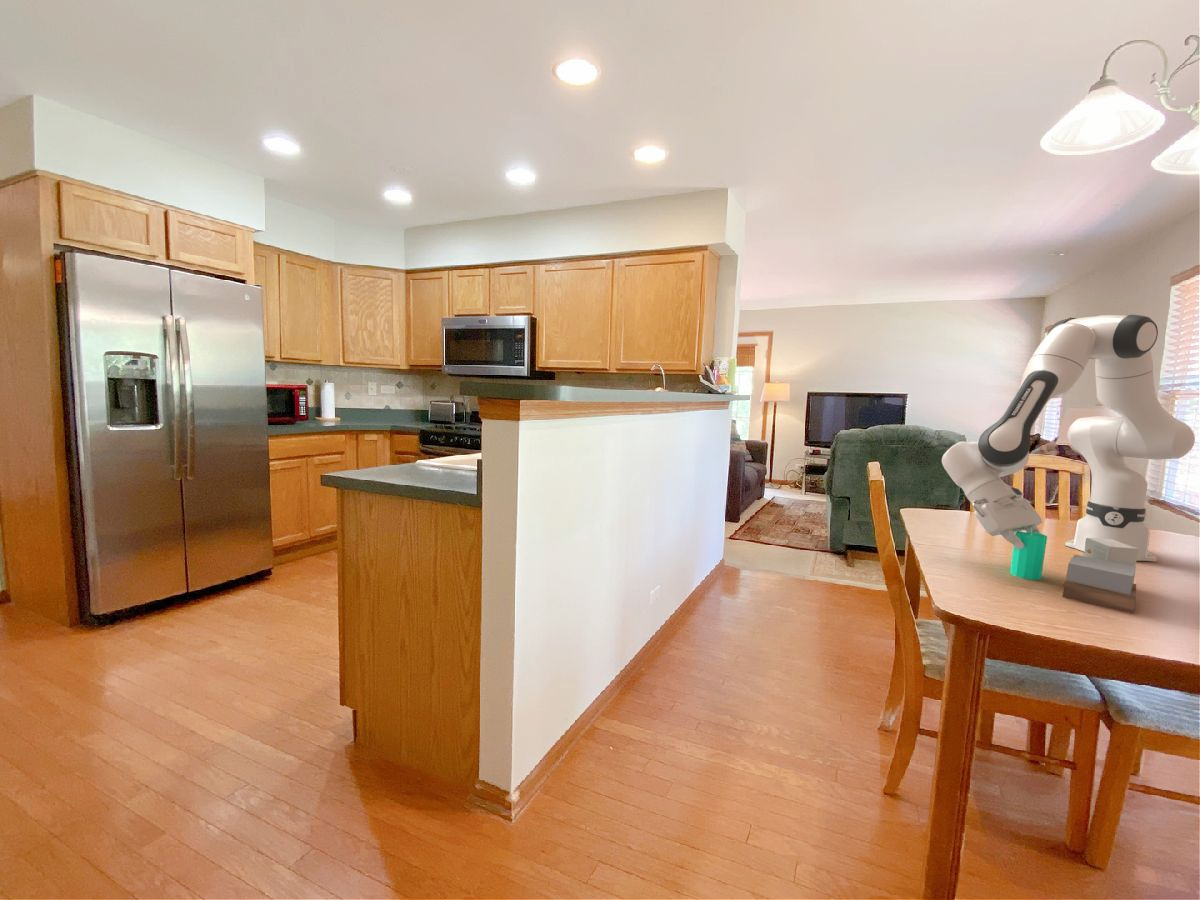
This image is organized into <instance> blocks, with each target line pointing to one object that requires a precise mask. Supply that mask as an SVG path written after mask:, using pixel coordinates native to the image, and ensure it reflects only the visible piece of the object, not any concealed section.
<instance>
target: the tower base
mask: <svg viewBox="0 0 1200 900" xmlns="http://www.w3.org/2000/svg"><path fill="white" fill-rule="evenodd" d="M1062 598H1064V599H1068V600H1072V601H1073V600H1074V601H1076V602H1077V601H1078V602H1080V603H1084V604H1089V605H1094V606H1099V607H1101V608H1106V609H1111V610H1116V611H1120V612H1124V613H1127V614H1132V615H1134V612H1135V607H1136V601H1137V584H1136V583H1133V586H1132V590H1131V594H1130V595H1127V594H1122V593H1118V592H1114V591H1109V590H1105V589H1100V588H1096V587H1091V586H1087V585H1083V584H1078V583H1074V582H1069V581H1066V579H1065V580H1064V584H1063V591H1062Z"/></svg>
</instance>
